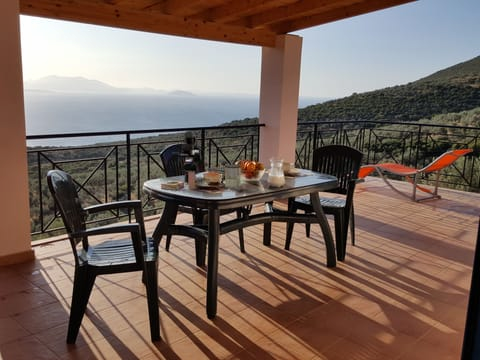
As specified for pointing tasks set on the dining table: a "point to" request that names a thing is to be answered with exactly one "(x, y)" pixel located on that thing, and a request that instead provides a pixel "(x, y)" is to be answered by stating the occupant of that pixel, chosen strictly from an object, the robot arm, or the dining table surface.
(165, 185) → the rack
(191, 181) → the pink tall block
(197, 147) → the robot arm
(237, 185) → the coffee can
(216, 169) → the food container
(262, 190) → the dining table surface
